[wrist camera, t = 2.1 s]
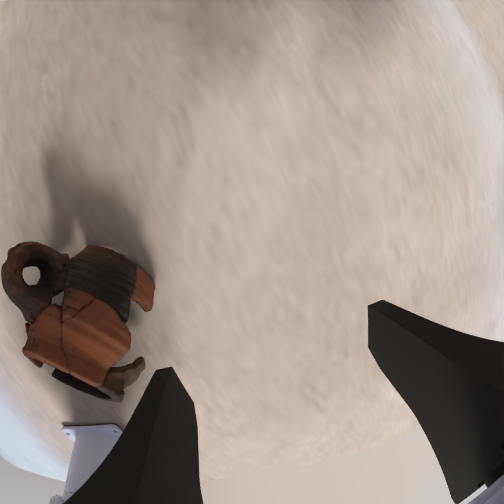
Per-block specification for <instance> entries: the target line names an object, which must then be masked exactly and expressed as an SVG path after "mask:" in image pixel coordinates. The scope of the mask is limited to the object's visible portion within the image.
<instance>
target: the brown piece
mask: <svg viewBox="0 0 504 504" xmlns="http://www.w3.org/2000/svg"><path fill="white" fill-rule="evenodd" d="M30 266H35V267H38V269H39V270H40V279H39V281H38V284H37V285H28V284H27V283H26V282H25V281H24V279H23V276H22V271H23V269H24V268H25V267H30ZM1 277H2V284H3V288H4V290H5V292H6V294H7V295H8V297H9V298H10V300H11V301H12V302H13V303H14V304H15V305H16V306H17V307H18V308H19V309H20V310H21V311H22V313H23V316H24V318H25V320H26V321H27V322H29V323H26V324H25V327H26V333H27V337H28V339H27V341H26V344H25V346H24V347H23V349H22V352H23V354H24V355H25V356H26V357H27V358H28V359H29V360H30V361H31V362H33V363H34V364H35V365H36V366H38V367H39V368H41V367H42V366H43V363H46V364H48V365H50V366H53V367H55V370H54V372H53V373H52V376H53V377H54V378H56V379H57V380H59V381H61V382H63V383H65V384H67V385H70V386H71V387H73V388H75V389H77V390H80V391H82V392H84V393H87V394H90V395H92V396H95V397H98V398H101V399H105V400H109V401H114V402H121V401H122V400H123V397H124V395H125V393H124V388H126V387H127V386H129V385H131V384H132V383H133V382H134V381H135V380H137V379H138V377H139V375H140V373H141V372H142V371H143V370H144V369H145V360H144V358H143V357H138V358H137V359H136V360H135V361H134V362H133V363H132V364H128V365H126V366H122V367H111V366H113V365H115V364H116V363H117V361H118V360H120V359H121V358H122V357H123V356H124V354H125V353H127V351H128V350H129V349H130V343H131V334H130V332H129V330H128V328H127V327H126V325H125V323H126V322H127V321H128V315H129V307H130V299H132V300H133V301H135V302H136V303H137V304H138V305H139V306H140V307H141V308H142V309H143V310H144V311H145V312H148V311H151V309H152V307H153V298H154V290H155V285H154V283H153V282H152V280H151V278H150V277H149V276H148V275H147V274H146V273H145V272H144V271H143V270H142V269H141V268H139V267H138V266H137V265H136V264H135V263H133V262H132V261H130V260H129V259H127V258H126V257H125V256H124V255H122V254H119V253H117V252H115V251H113V250H111V249H108V248H105V247H98V246H87V247H86V248H85V249H84V250H82V251H81V252H80V253H78V254H77V255H76V256H75V257H73V258H71V259H70V258H69V256H68V254H61V253H59V252H57V251H56V250H54V249H52V248H51V247H48V246H46V245H43V244H41V243H38V242H23V243H19V244H17V245H16V246H15V247H13V248H10V249H9V251H8V257H7V260H6V261H5V263H4V264H3V265H2V270H1ZM62 291H64V296H63V302H62V307H61V306H59V305H57V304H51V301H52V298H53V297H54V296H56V295H58V294H59V293H61V292H62Z"/></svg>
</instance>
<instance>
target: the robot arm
mask: <svg viewBox="0 0 504 504" xmlns="http://www.w3.org/2000/svg"><path fill="white" fill-rule="evenodd" d="M368 348H369V350H370V351H371V353H372V355H373V357H374V359H375V360H376V362H377V364H378V366H379V367H380V369H381V370H382V372H383V373H384V374H385V376H386V377H387V378H388V380H389V381H390V382H391V384H392V385H393V386H394V388H395V389H396V390H397V391H398V393H399V394H400V395H401V397H402V398H403V399H404V401H405V402H406V403H407V405H408V406H409V407H410V409H411V410H412V412H413V413H414V415H415V416H416V418H417V420H418V421H419V423H420V425H421V427H422V429H423V430H424V432H425V434H426V436H427V438H428V440H429V442H430V444H431V446H432V448H433V450H434V452H435V454H436V457H437V459H438V461H439V464H440V466H441V468H442V471H443V474H444V476H445V479H446V482H447V485H448V488H449V491H450V494H451V498H452V499H453V501H454V503H455V504H459V503H460V502H461V501H463V500H464V499H466V498H467V497H468V496H470V495H471V494H472V493H473V492H475V491H476V490H477V489H479V488H480V487H481V486H482V485H484V484H486V486H487V489H486V490H485V491H483V492H482V493H481V494H480V495H478V496H477V497H476V498H475V499H473V500H472V501H471V502H469V503H468V504H504V342H499V341H494V340H489V339H484V338H480V337H476V336H473V335H469V334H466V333H462V332H459V331H456V330H454V329H451V328H448V327H445V326H443V325H440V324H437V323H435V322H433V321H430V320H428V319H425V318H423V317H421V316H418V315H416V314H414V313H412V312H409V311H407V310H405V309H403V308H401V307H398V306H396V305H394V304H391V303H389V302H387V301H384V300H381V301H378V302H376V303H373V304H371V305H368ZM62 431H63V432H64V433H65V434H66V435H67V436H68V437H69V438H70V439H71V440H72V441H73V442H75V443H74V447H73V451H72V456H71V460H70V465H69V470H68V474H67V480H66V485H65V490H64V494H63V496H60V495H55V496H52V497H51V499H50V503H49V504H203V500H202V495H201V489H200V479H199V456H198V427H197V420H196V413H195V407H194V402H193V400H192V399H191V397H190V396H189V394H188V393H187V391H186V389H185V388H184V386H183V384H182V383H181V381H180V379H179V378H178V376H177V374H176V373H175V371H174V369H173V368H172V367H168V368H163V369H159V370H156V371H155V373H154V375H153V376H152V378H151V380H150V382H149V384H148V386H147V388H146V390H145V392H144V394H143V396H142V398H141V400H140V402H139V404H138V405H137V407H136V409H135V411H134V413H133V415H132V417H131V419H130V420H129V422H128V424H127V425H126V427H125V429H124V430H123V432H122V431H121V430H120V429H119V427H118V426H116V425H114V424H108V425H93V426H69V427H62Z"/></svg>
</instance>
